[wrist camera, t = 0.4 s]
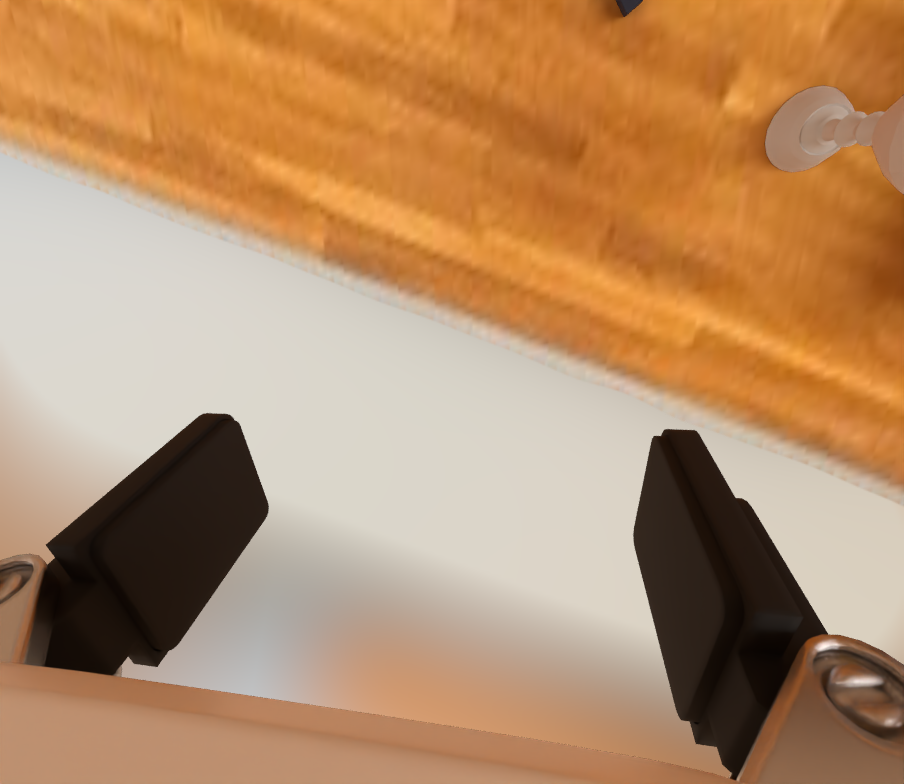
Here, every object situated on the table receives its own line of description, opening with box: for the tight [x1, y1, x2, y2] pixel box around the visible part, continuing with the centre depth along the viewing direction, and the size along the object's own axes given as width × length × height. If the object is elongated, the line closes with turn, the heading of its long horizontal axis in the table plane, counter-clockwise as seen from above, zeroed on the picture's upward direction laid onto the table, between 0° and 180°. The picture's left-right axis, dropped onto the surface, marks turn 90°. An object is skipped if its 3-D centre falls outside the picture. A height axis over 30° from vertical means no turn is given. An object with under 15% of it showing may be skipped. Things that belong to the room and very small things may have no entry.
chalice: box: [765, 86, 904, 195], centre depth 22 cm, size 7×7×18 cm
